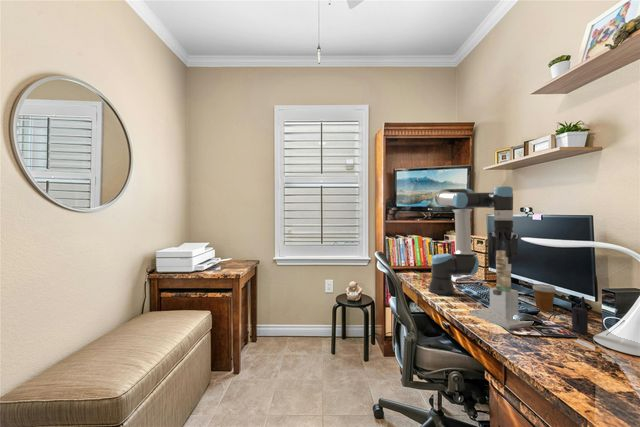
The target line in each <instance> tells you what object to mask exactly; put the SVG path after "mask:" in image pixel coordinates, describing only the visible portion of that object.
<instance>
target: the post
mask: <svg viewBox="0 0 640 427" xmlns="http://www.w3.org/2000/svg"><path fill="white" fill-rule="evenodd" d="M506 256H507V252H506V249H505V250H502V249H501V250H497V251H496V262H495V265H496V264H497V267H496V266H495V269H496V268H497V269H496V271H495V272H496V285H495V287H496V288H497V289H498V290H502V291H511V289H512V279H511V278H512V275H511V274H512V273H511V272H512V270H511V271H506Z"/></svg>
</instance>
